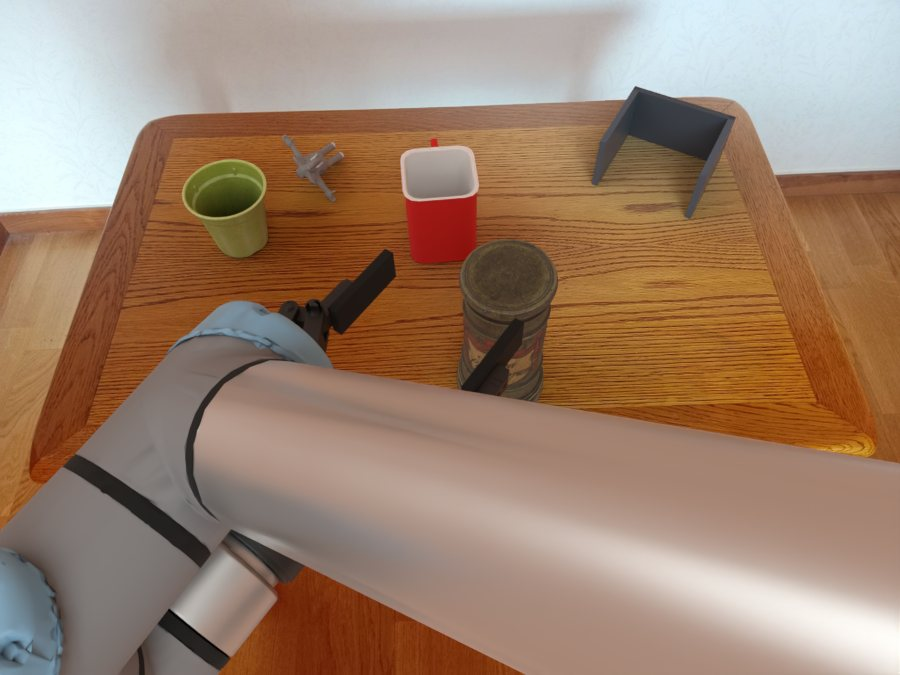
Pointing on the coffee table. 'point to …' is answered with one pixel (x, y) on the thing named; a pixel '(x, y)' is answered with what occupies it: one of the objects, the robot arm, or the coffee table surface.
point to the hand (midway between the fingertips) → (452, 295)
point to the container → (507, 310)
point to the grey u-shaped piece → (667, 133)
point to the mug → (440, 202)
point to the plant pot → (230, 205)
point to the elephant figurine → (314, 164)
